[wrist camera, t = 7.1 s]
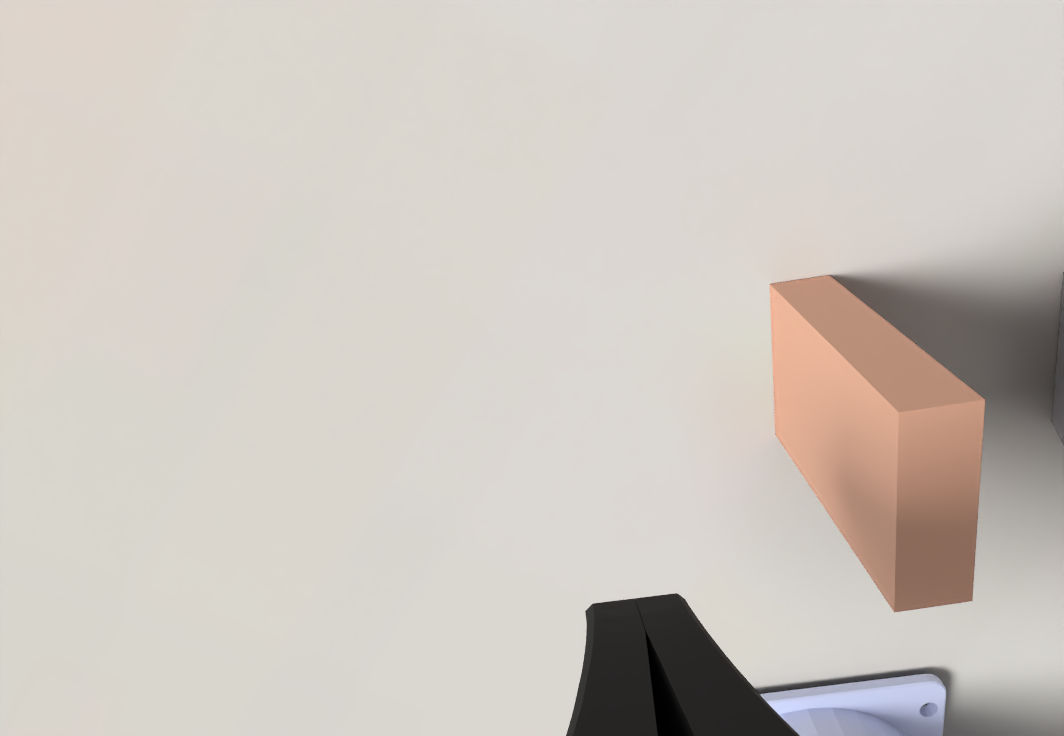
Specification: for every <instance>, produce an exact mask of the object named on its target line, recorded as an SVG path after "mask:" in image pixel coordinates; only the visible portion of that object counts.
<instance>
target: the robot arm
mask: <svg viewBox="0 0 1064 736" xmlns="http://www.w3.org/2000/svg"><path fill="white" fill-rule="evenodd" d="M586 620H587V636H586V648H585V655H584V662H583V669H582V674H581V679H580V683H579V688H578V692H577V697H576V702H575V706H574V710H573V714H572V718H571V721H570V725H569V728H568V731H567V735H566V736H943V727H944V715H945V704H946V688H945V686H944V685H943V683H942V682H941V680H940V679H939V678H938V677H937V676H935V675H933V674H919V675H911V676H903V677H895V678H887V679H879V680H870V681H862V682H854V683H846V684H838V685H830V686H821V687H813V688H805V689H797V690H789V691H780V692H772V693H764V694H759V693H758V692H757V691H756V690H755V689H754V687H753V686H752V685H751V684H750V683H749V682H748V681H747V679H746V678H745V677H744V676H743V675H742V674H741V673H740V672H739V670H738V669H737V668H736V667H735V666H734V665H733V663H732V662H731V661H730V660H729V659H728V657H727V656H726V655H725V654H724V653H723V651H722V650H721V649H720V647H719V646H718V645H717V644H716V642H715V641H714V640H713V639H712V637H711V636H710V635H709V633H708V632H707V631H706V629H705V628H704V627H703V625H702V624H701V623H700V621H699V620H698V618H697V617H696V616H695V614H694V613H693V611H692V610H691V608H690V607H689V605H688V604H687V602H686V600H685V599H684V598H682V597H681V596H680V595H679V594H677V593H676V594H668V595H660V596H652V597H644V598H635V599H627V600H619V601H611V602H603V603H595V604H592V605H591V606H590V607H589V608H588V609H587V610H586ZM926 703H929V704H927V705H926V706H923V705H924V704H926ZM922 706H923V707H922Z"/></svg>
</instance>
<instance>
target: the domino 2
mask: <svg viewBox="0 0 1064 736" xmlns="http://www.w3.org/2000/svg"><path fill="white" fill-rule="evenodd" d="M1052 423H1053V425H1054V427H1055V429H1056V431H1057V433H1058V435H1059V437H1060V439H1061V441H1062V443H1063V445H1064V272H1063V283H1062V296H1061V310H1060V323H1059V336H1058V349H1057V362H1056V375H1055V388H1054V401H1053V414H1052Z"/></svg>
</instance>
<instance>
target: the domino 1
mask: <svg viewBox="0 0 1064 736" xmlns="http://www.w3.org/2000/svg"><path fill="white" fill-rule="evenodd" d="M770 300H771V326H772V352H773V378H774V404H775V430H776V436H777V437H778V439H779V440H780V442H781V443H782V445H783V446H784V448H785V449H786V451H787V452H788V454H789V455H790V457H791V458H792V460H793V461H794V463H795V464H796V466H797V467H798V469H799V470H800V472H801V473H802V475H803V476H804V478H805V479H806V481H807V482H808V484H809V485H810V487H811V488H812V490H813V491H814V493H815V494H816V496H817V497H818V499H819V500H820V502H821V503H822V505H823V506H824V508H825V509H826V511H827V512H828V514H829V515H830V517H831V518H832V520H833V521H834V523H835V524H836V526H837V527H838V529H839V530H840V532H841V533H842V535H843V536H844V538H845V539H846V541H847V542H848V544H849V545H850V547H851V548H852V550H853V551H854V553H855V554H856V556H857V557H858V559H859V560H860V562H861V563H862V565H863V566H864V568H865V569H866V571H867V572H868V574H869V575H870V577H871V578H872V580H873V581H874V583H875V584H876V586H877V587H878V589H879V590H880V592H881V593H882V595H883V596H884V598H885V599H886V601H887V602H888V604H889V605H890V607H891V608H892V610H893V611H894V612H900V611H907V610H914V609H920V608H927V607H934V606H941V605H948V604H954V603H961V602H968V601H972V597H973V581H974V566H975V550H976V535H977V519H978V504H979V488H980V473H981V457H982V442H983V426H984V411H985V399H984V398H983V397H981V396H980V395H979V394H978V393H976V392H975V391H974V390H973V389H971V388H970V387H969V386H967V385H966V384H965V383H964V382H962V381H961V380H960V379H959V378H957V377H956V376H955V375H954V374H952V373H951V372H950V371H949V370H947V369H946V368H945V367H944V366H942V365H941V364H940V363H939V362H937V361H936V360H935V359H934V358H932V357H931V356H930V355H929V354H927V353H926V352H925V351H924V350H922V349H921V348H920V347H919V346H917V345H916V344H915V343H914V342H912V341H911V340H910V339H909V338H907V337H906V336H905V335H904V334H902V333H901V332H900V331H899V330H897V329H896V328H895V327H894V326H892V325H891V324H890V323H889V322H887V321H886V320H885V319H884V318H882V317H881V316H880V315H879V314H877V313H876V312H875V311H874V310H872V309H871V308H870V307H869V306H867V305H866V304H865V303H863V302H862V301H861V300H860V299H858V298H857V297H856V296H855V295H853V294H852V293H851V292H850V291H848V290H847V289H846V288H845V287H843V286H842V285H841V284H840V283H838V282H837V281H836V280H835V279H833V278H832V277H831V276H830V275H827V276H820V277H813V278H807V279H800V280H793V281H787V282H780V283H773V284H770Z"/></svg>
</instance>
